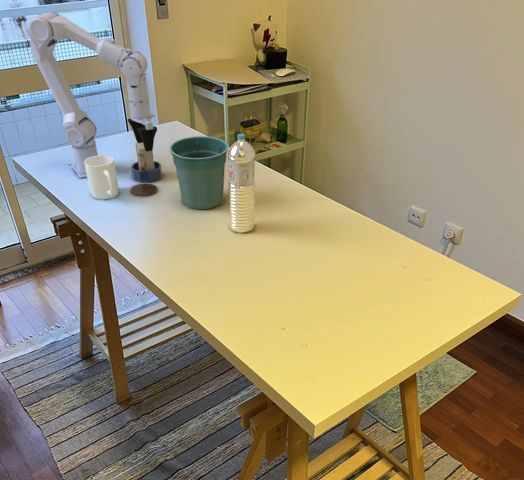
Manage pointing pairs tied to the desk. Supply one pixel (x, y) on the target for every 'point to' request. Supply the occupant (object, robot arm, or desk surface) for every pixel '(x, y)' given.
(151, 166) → the drug facts carton
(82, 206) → the desk surface
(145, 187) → the walnut coaster
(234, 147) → the water bottle
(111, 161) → the cup
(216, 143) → the flower pot
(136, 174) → the blue ring
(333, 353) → the desk surface
